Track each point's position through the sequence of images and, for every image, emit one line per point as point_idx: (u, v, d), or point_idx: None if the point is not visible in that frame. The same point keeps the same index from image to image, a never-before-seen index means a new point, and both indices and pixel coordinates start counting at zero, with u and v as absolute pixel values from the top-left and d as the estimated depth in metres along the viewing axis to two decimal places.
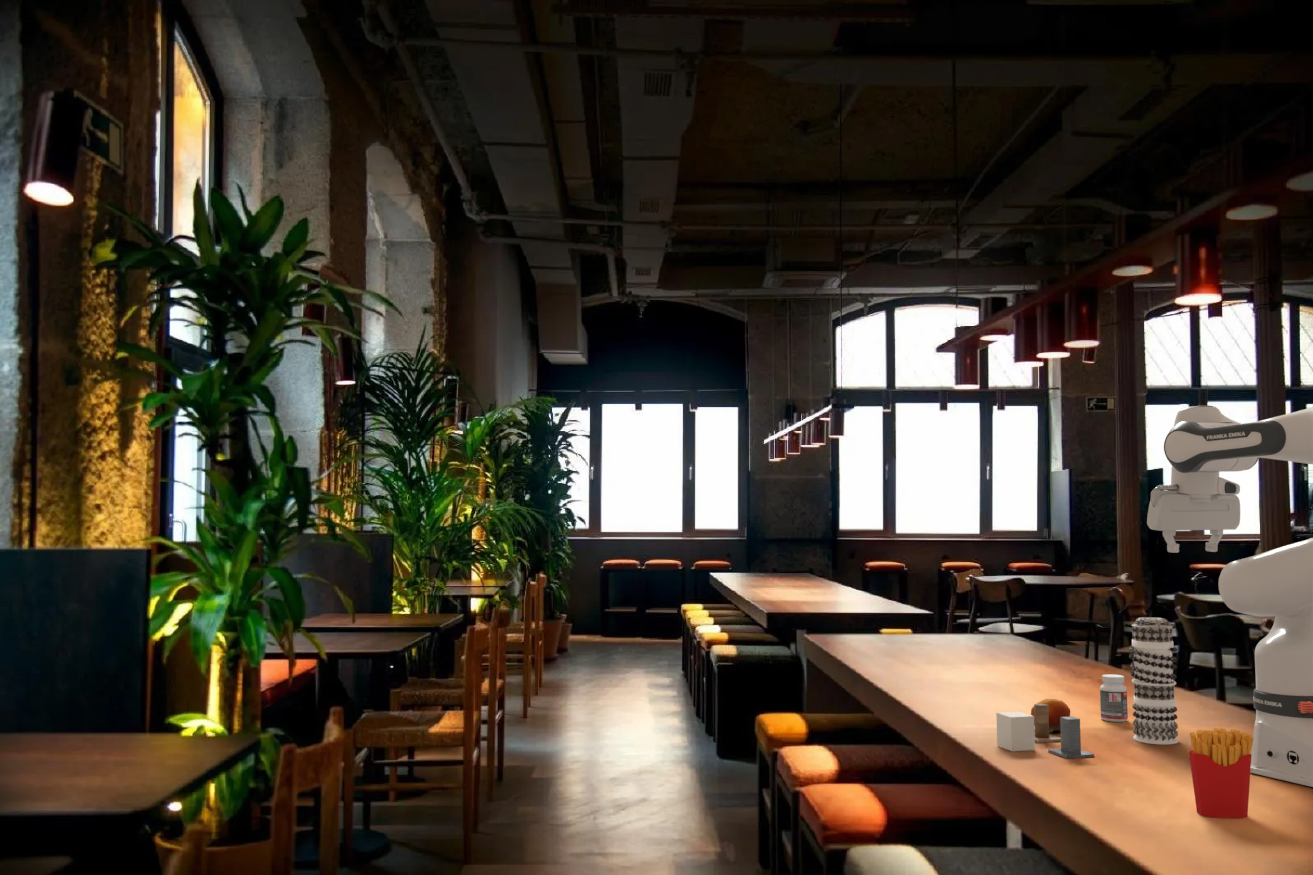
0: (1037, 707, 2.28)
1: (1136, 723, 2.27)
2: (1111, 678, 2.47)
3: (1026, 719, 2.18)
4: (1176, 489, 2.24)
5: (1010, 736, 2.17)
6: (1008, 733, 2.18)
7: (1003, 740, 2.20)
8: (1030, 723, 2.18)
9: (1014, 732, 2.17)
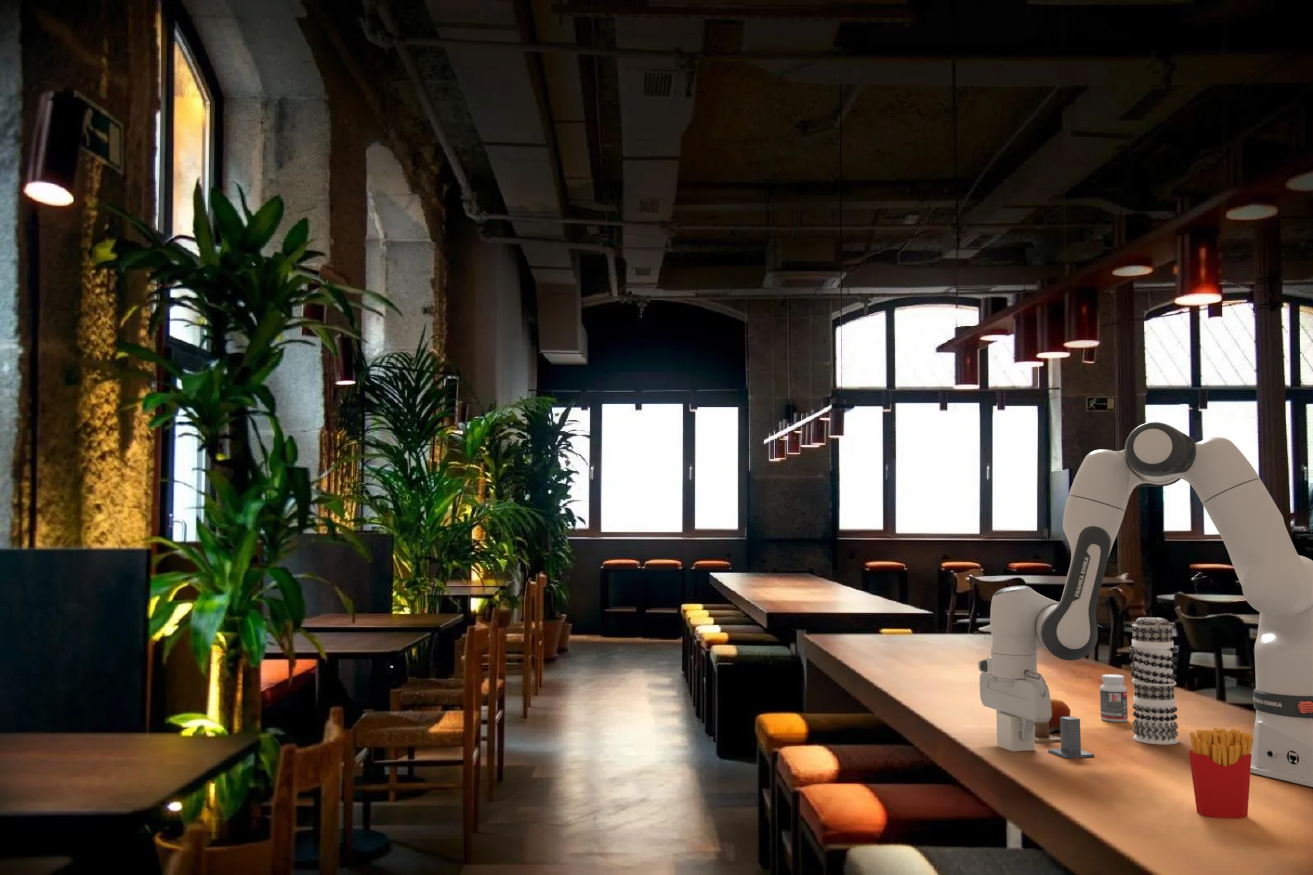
0: None
1: (1136, 723, 2.27)
2: (1111, 678, 2.47)
3: None
4: None
5: (1010, 736, 2.17)
6: (1008, 733, 2.18)
7: (1003, 740, 2.20)
8: None
9: (1014, 732, 2.17)
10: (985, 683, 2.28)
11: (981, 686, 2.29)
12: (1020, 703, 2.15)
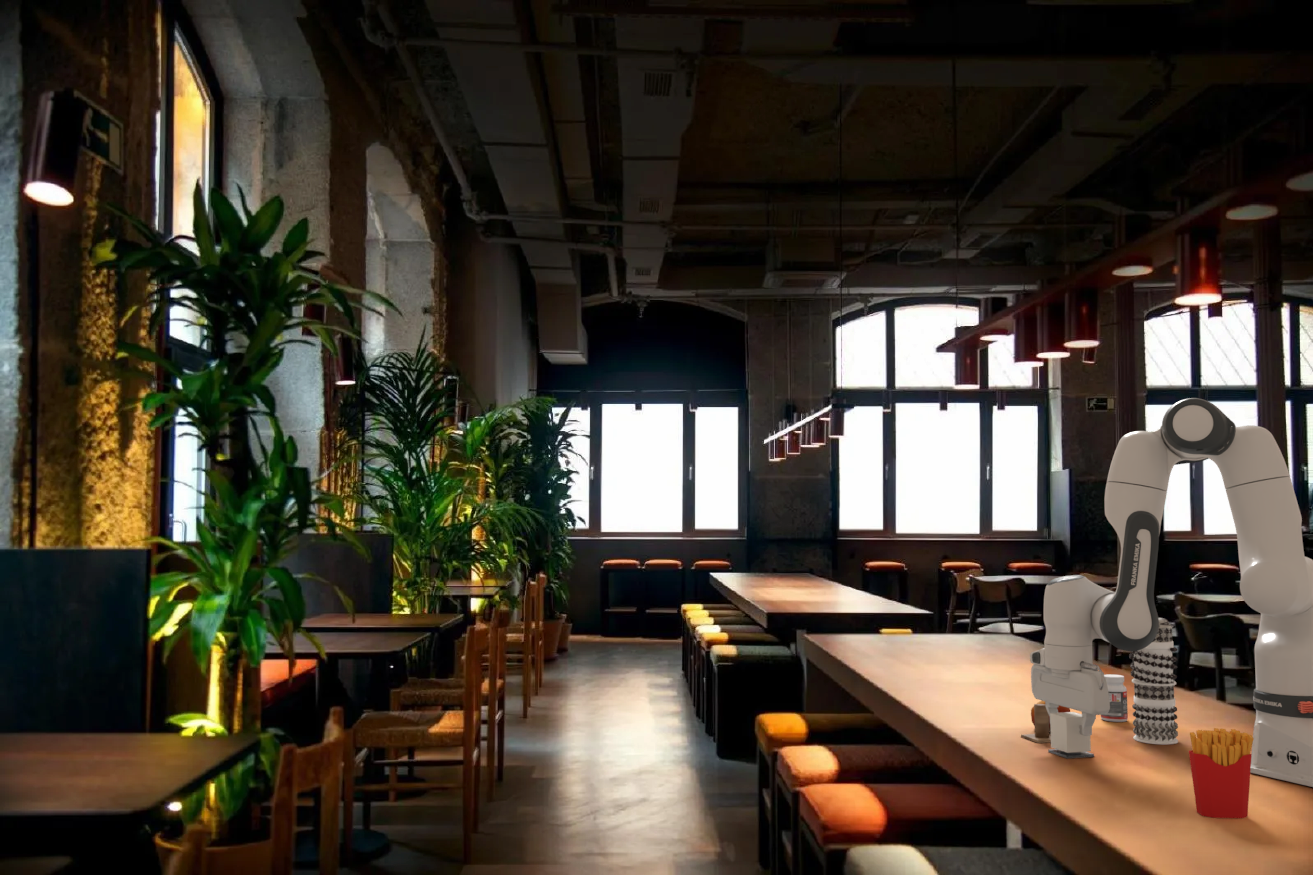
0: (1037, 707, 2.28)
1: (1136, 723, 2.27)
2: (1111, 678, 2.47)
3: (1082, 720, 2.12)
4: None
5: (1065, 737, 2.11)
6: (1063, 733, 2.12)
7: (1058, 741, 2.14)
8: None
9: (1070, 733, 2.11)
10: (1037, 675, 2.22)
11: (1033, 678, 2.23)
12: (1076, 696, 2.10)
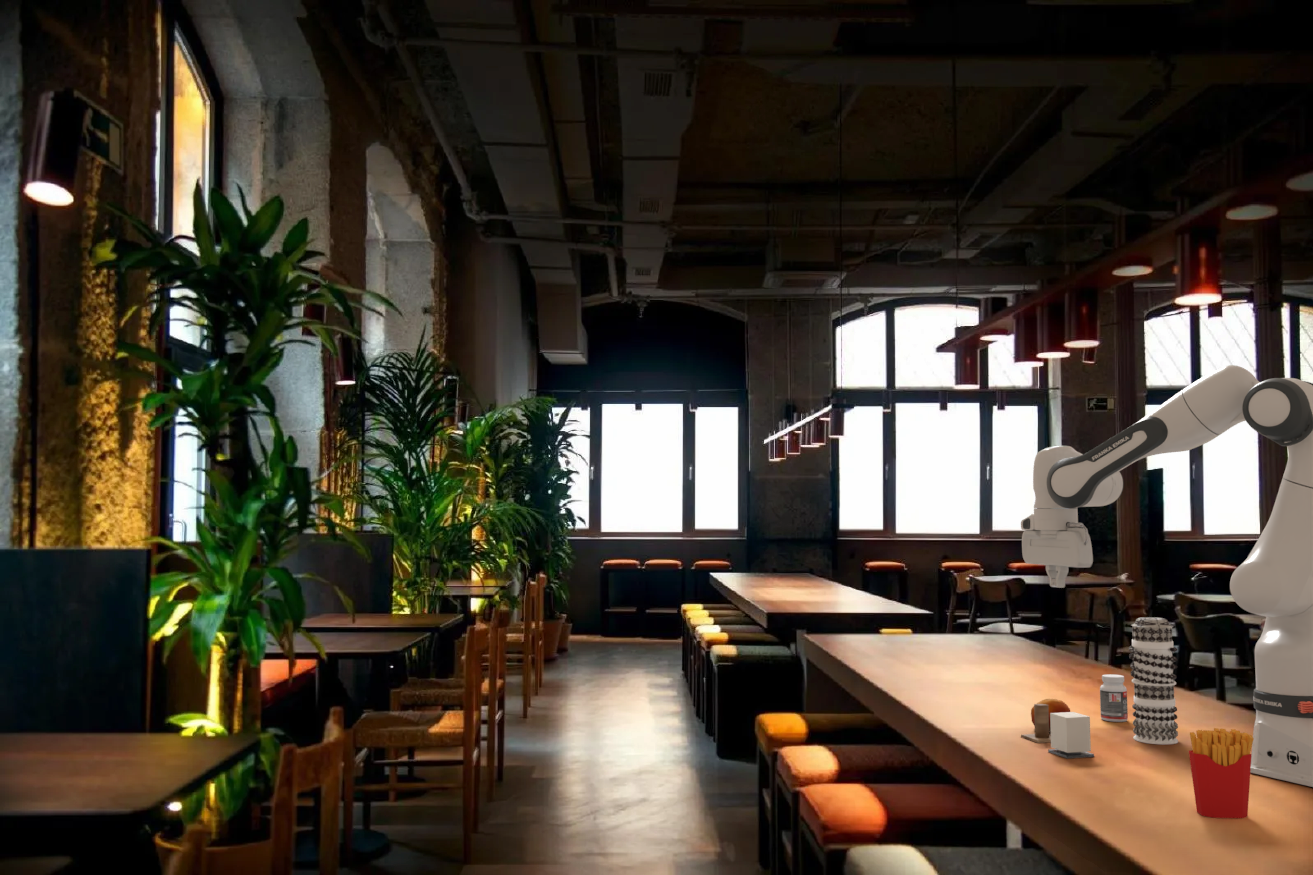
0: (1037, 707, 2.28)
1: (1136, 723, 2.27)
2: (1111, 678, 2.47)
3: (1082, 720, 2.12)
4: None
5: (1065, 737, 2.11)
6: (1063, 733, 2.12)
7: (1058, 741, 2.14)
8: (1085, 723, 2.12)
9: (1070, 733, 2.11)
10: (1027, 541, 2.41)
11: (1023, 544, 2.42)
12: (1063, 553, 2.29)
